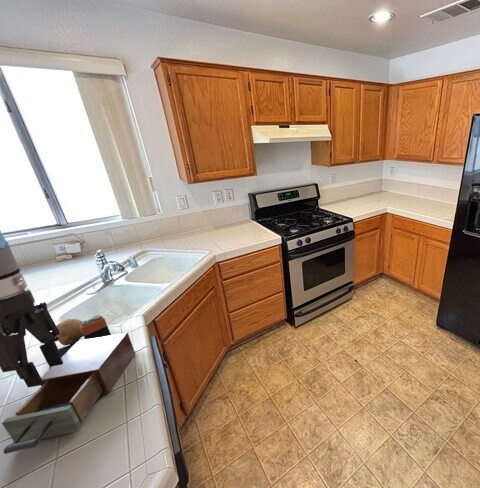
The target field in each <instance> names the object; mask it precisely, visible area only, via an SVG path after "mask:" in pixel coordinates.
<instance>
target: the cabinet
mask: <svg viewBox="0 0 480 488" xmlns="http://www.w3.org/2000/svg"><path fill="white" fill-rule="evenodd" d="M135 356H136V351H135V349H134V347H133V342H132V341H131V338H130V335H129V333H128V332H123V333H116V334H111V335H109V336H103V337H97V338H91V339H85V338H84V339H80V340H79V341H78V342H77V343H76V344H75V345H74V346H73V347H72V348H71V349H70V350H69V351H68V352H67V353H66V354H65V355H63V356H62V357H61V359H62V361H63V364H62V365H57V366H52V367H51V368H50V369H49V368H48V370H47V371H46V372H45V373H44V374H43V375H41V376H40V377H41V379H42V381H43V382H44V383H45V382H46V381H51V380H56V379H61V378H67V377H72V376H78V375H83V374H88V373H94V372H96V373H97V375H98V377H99V379H100V381H101V384H102V386H103V388H104V390H103V392H102V393H101V395H100V396H104V395H109V394H110V393H111V392H112V390H113V389H114V387H115V386H116V384H117V382H118V381H119V380H120V378H121V377H122V375H123V373H124V372H125V371H126V369H127V367H128V366H129V364H130V363H131V362H132V361H133V358H134V357H135ZM44 383H43V384H44ZM43 384H42V385H43ZM42 385H40V387H41V386H42Z"/></svg>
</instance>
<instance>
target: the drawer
mask: <svg viewBox="0 0 480 488" xmlns="http://www.w3.org/2000/svg"><path fill="white" fill-rule="evenodd" d="M103 390H104V388H103V386H102V384H101V381H100V379H99V377H98V375H97V373H96V372H94V373H88V374H83V375H78V376H72V377H67V378H61V379H56V380H51V381H46V382H45V383H44V384H43V385H42V386H41V385H40V387H39V388H38V389H37V390H36V391H35V392H34V393H33V394H32V395H31V396H30V397H29V398H28V399H27V400H26V401H25V402H24V404H23V405H22V406H20V408H18V409H17V411H16V412H15V416H11V417H6V418H5V419H4V420H3V421H2V422H1V424H2V426H3V428H4V429H5V431H6V432H7V434H8V435H9V436H10V438H11V440H12V441H13V442H11V443H10V444H7V445H6V446H5V447H4V449H3V454H6V455H7V454H11V453H16V452H20V451H25V450H29V449H35V448H36V447H38V446H39V444H40V442H41V441H40V440H44V439H47V438H53V437H58V436H62V435H66V434H70V433H76V432H79V431H80V430H81V429H82V427H83V425H82V423H81V422H83V421H84V419H85V418H86V416H87V415H88V413H89V412H90V411H91V409H92V408H93V407H94V405H95V403H96V402H97V400H98V399H99V398H100V397H101V396H102V395H101V393H102V392H103ZM68 403H69V404H70V406H65V407H60V408H55V409H50V410H45V411H41V410H42V409H43V408H48V407H53V406H58V405H63V404H68Z"/></svg>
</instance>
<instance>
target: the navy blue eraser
mask: <svg viewBox="0 0 480 488" xmlns="http://www.w3.org/2000/svg"><path fill="white" fill-rule="evenodd" d="M65 406H70V404H69V403H68V404H63V405H58V406H53V407H48V408H43V409H42V410H41V411H45V410H50V409H55V408H60V407H65Z"/></svg>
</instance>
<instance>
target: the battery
mask: <svg viewBox="0 0 480 488" xmlns="http://www.w3.org/2000/svg"><path fill="white" fill-rule="evenodd" d="M79 327H80V329H81V332H82V334H83V338H84V340H85V339H91V338H97V337H103V336H109V335H112V334H111V332H110V331H111V330H110V329H109V327H108V324H107V321H106V318H104V316H102V315H101V314H100V315H99V314H98V315H94V316H93V317H92V318H90V319H88V320H83V321H82V323H80V324H79Z"/></svg>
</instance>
